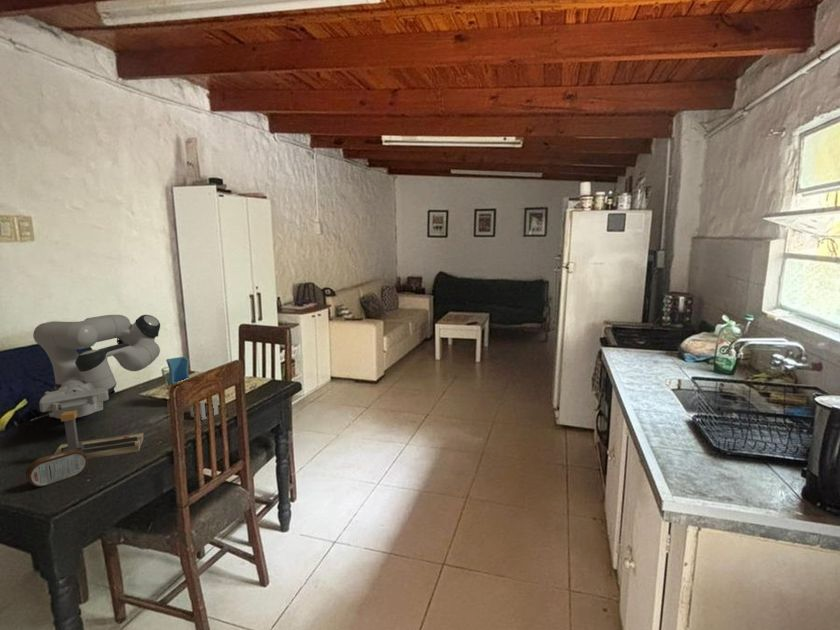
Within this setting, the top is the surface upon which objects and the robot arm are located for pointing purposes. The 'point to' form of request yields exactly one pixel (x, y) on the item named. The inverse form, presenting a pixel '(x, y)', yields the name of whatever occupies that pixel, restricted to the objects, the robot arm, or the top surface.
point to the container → (203, 408)
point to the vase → (177, 369)
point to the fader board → (109, 445)
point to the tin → (56, 467)
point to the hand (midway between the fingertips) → (75, 405)
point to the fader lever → (71, 430)
